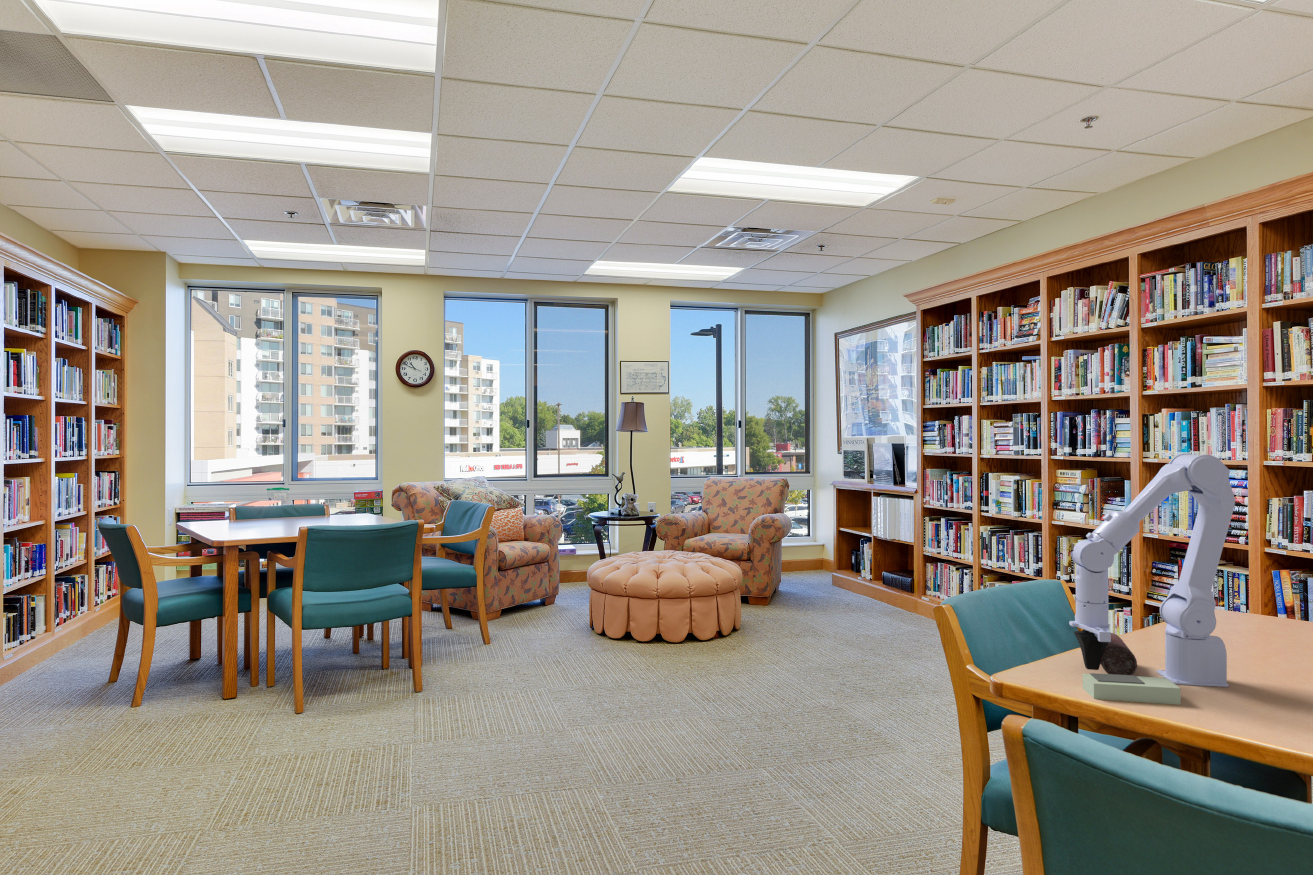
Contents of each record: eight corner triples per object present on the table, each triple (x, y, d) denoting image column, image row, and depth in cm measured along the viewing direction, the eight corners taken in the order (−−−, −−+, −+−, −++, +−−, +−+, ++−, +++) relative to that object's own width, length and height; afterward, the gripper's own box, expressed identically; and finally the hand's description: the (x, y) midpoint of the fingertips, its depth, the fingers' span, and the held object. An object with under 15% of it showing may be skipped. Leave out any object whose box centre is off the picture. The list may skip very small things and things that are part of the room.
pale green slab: (1165, 693, 143) (1164, 676, 143) (1180, 705, 137) (1180, 686, 137) (1082, 688, 146) (1082, 671, 146) (1093, 700, 140) (1093, 682, 140)
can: (1146, 667, 150) (1131, 648, 163) (1120, 641, 152) (1107, 625, 165) (1119, 686, 152) (1107, 666, 165) (1094, 660, 154) (1084, 642, 167)
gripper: (1059, 592, 163) (1059, 657, 163) (1082, 607, 149) (1082, 678, 149) (1095, 594, 162) (1096, 659, 162) (1122, 609, 147) (1122, 681, 147)
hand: (1092, 668), depth 155 cm, fingers closed
